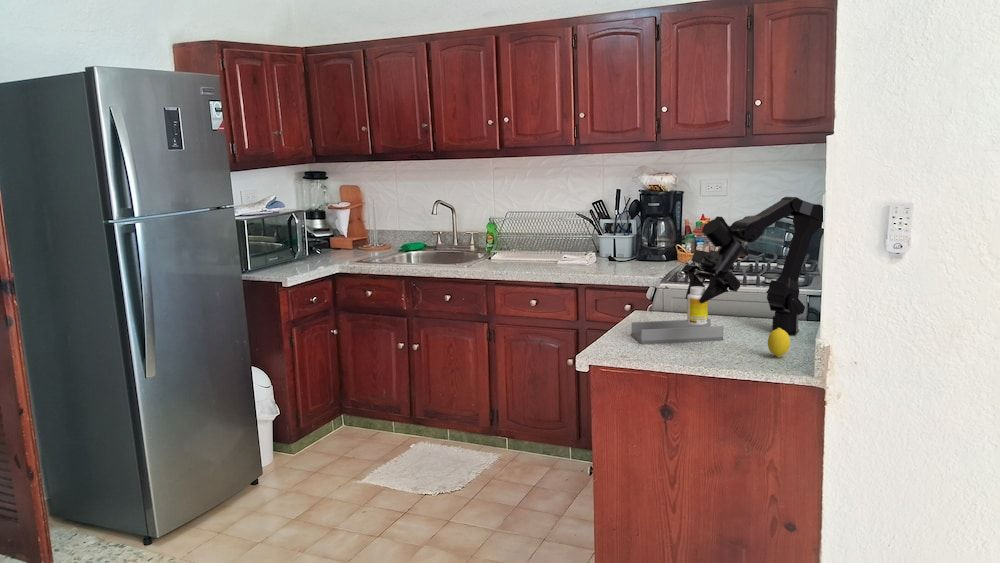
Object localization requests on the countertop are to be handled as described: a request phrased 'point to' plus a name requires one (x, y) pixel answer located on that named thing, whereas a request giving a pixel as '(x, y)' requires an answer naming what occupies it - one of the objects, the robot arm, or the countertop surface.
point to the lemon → (778, 342)
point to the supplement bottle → (696, 307)
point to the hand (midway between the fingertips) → (693, 300)
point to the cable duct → (674, 332)
